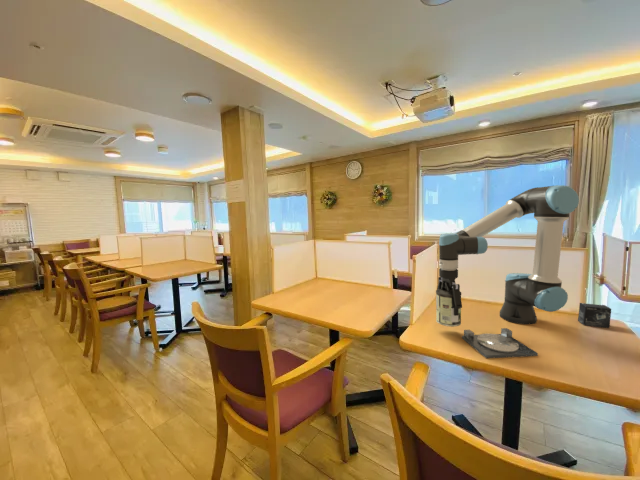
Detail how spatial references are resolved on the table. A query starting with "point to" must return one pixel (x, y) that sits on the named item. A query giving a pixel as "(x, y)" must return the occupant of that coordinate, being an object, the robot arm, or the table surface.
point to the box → (594, 315)
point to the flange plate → (498, 344)
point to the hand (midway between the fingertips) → (448, 316)
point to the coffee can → (445, 309)
